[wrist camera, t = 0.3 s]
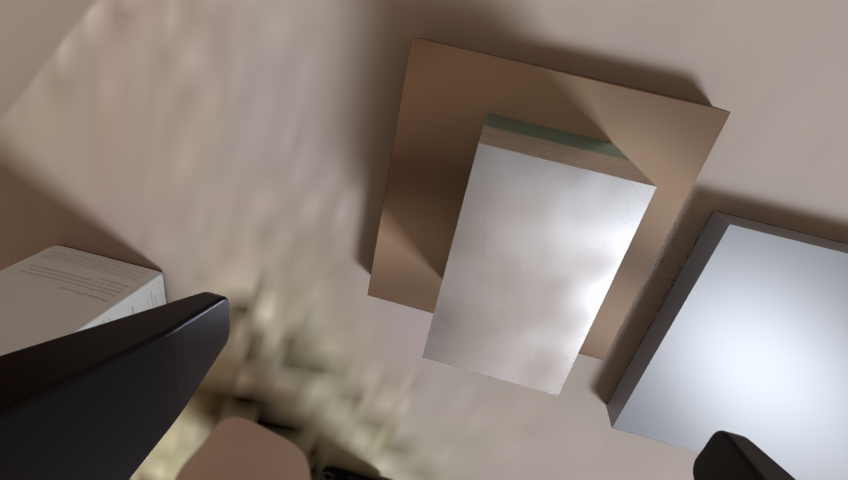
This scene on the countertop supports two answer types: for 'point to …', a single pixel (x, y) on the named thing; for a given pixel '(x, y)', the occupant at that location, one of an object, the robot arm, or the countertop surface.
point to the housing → (534, 251)
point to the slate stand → (749, 350)
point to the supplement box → (70, 295)
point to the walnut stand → (539, 104)
